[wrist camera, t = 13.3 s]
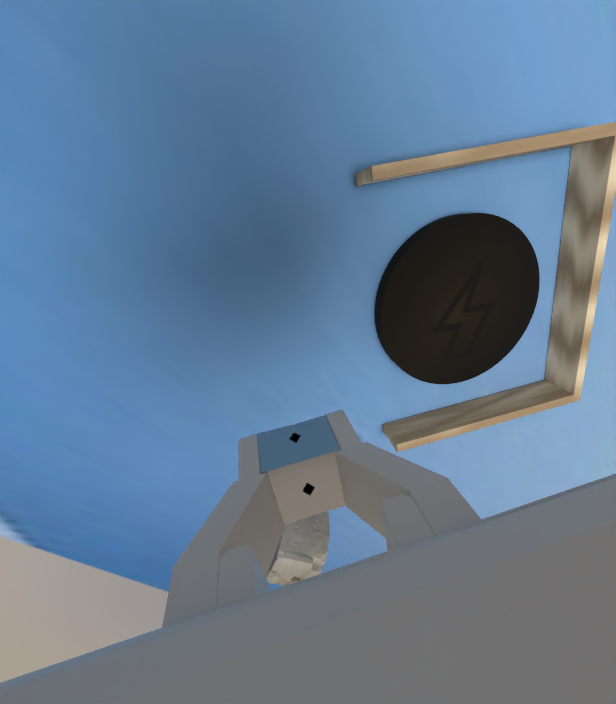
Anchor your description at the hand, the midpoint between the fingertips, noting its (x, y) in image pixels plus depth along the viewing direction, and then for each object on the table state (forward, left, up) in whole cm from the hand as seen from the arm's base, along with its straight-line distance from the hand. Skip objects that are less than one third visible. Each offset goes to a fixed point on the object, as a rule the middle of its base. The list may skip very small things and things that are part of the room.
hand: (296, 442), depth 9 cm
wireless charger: (+6, +20, -24) cm, 32 cm away
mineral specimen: (+29, -2, -24) cm, 37 cm away
